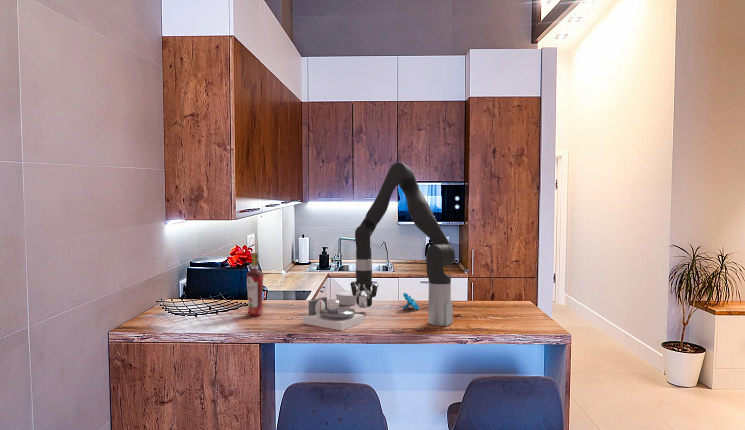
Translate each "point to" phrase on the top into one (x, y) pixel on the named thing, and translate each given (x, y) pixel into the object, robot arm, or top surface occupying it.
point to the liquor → (254, 288)
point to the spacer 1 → (333, 306)
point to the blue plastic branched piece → (410, 302)
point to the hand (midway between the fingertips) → (364, 305)
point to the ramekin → (346, 298)
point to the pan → (342, 313)
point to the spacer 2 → (363, 301)
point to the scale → (327, 322)
